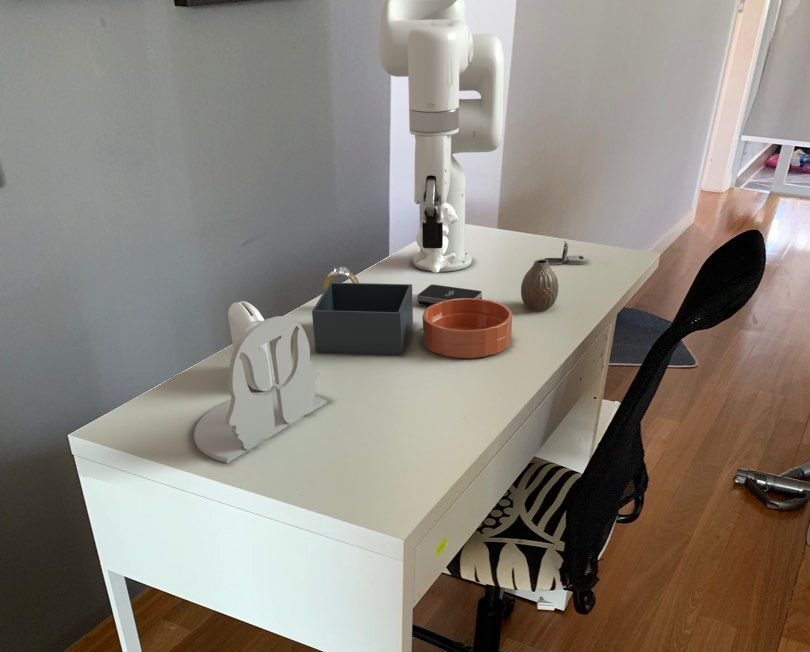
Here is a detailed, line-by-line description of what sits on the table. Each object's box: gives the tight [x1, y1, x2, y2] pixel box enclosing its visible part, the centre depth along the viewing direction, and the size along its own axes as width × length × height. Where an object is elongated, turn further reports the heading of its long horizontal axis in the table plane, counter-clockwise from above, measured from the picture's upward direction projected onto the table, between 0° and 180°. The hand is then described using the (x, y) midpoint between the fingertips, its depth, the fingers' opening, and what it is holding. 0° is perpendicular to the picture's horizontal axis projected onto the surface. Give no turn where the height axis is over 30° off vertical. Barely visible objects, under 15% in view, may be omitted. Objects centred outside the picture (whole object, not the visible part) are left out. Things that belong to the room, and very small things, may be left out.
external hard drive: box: [416, 283, 483, 307], centre depth 164 cm, size 7×11×2 cm, turn 64°
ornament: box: [193, 315, 328, 464], centre depth 123 cm, size 22×13×17 cm, turn 145°
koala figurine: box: [415, 198, 458, 274], centre depth 138 cm, size 8×7×12 cm
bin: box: [311, 282, 414, 357], centre depth 149 cm, size 14×15×8 cm
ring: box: [323, 264, 360, 292], centre depth 161 cm, size 7×3×8 cm, turn 68°
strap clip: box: [543, 240, 587, 265], centre depth 181 cm, size 8×3×4 cm, turn 87°
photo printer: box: [227, 300, 275, 391], centre depth 136 cm, size 10×4×12 cm, turn 26°
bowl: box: [422, 298, 513, 359], centre depth 148 cm, size 15×15×5 cm
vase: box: [520, 259, 559, 312], centre depth 159 cm, size 7×7×9 cm
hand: (434, 239), depth 140 cm, fingers closed on koala figurine, 6 cm apart
